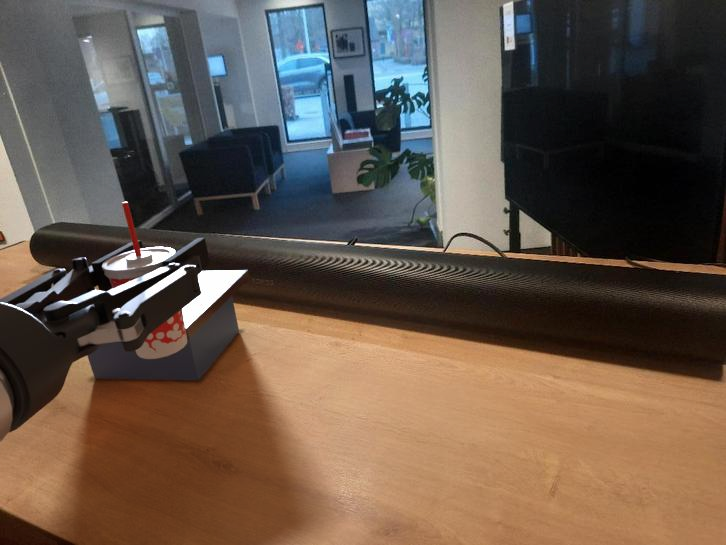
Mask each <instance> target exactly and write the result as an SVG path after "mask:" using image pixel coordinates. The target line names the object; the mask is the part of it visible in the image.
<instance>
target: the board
mask: <svg viewBox="0 0 726 545" xmlns="http://www.w3.org/2000/svg"><path fill="white" fill-rule="evenodd" d="M198 279H199V284H200V289H201V293H202V294H201V295H200V296H198V297H197V298H196V299H194V300H193V301H192V302H191V303H189V304H188V305H187V306H185V307H184V308H183V309H182V311H183V317H184V323H185V329H186V335H187V339H190V338H191V337H192V336H193V335H194V334H195V333H196V332H197V331H198V330H199V329H200V328H201V327H202V326H203V325H204V324H205V323H206V322H207V321H208V320H209V319H210V318H211V317H212V316H213V315H214V314H215V313H216V312H217V311H218V310H219V309H220V308H221V307H222V306H223V305H224V304H225V303H226V302H227V301H228V300H229V299H230V298H231V296H232V297H233V296H234V295H235V294H236V293H237V292H238V291H239V290H240V289H241V288H242V287H243V286H244V285H245V284H246V283H247V282H248V280H250V274H249V270H248V269H233V270H231V269H230V270H202V272H201V273H200V274H198ZM112 289H113V288H112ZM110 290H111V289H110ZM92 306H94V304H93V305H92Z"/></svg>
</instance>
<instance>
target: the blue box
mask: <svg viewBox="0 0 726 545" xmlns="http://www.w3.org/2000/svg"><path fill="white" fill-rule="evenodd" d="M239 328H240V327H239V323H238V319H237V314H236V308H235V303H234V299H233V295H232V296H231V298H230V299H229V300H228V301H227V302H226V303H225V304H224V305H223V306H222V307H221V308H220V309H219V310H218V311H217V312H216V313H215V314H214V315H213V316H212V317H211V318H210V319H209V320H208V321H207V322H206V323H205V324H204V325H203V326H202V327H201V328H200V329H199V330H198V331H197V332H196V333H195V334H194V335H193V336H192V337H191V338H190V339H187V344H186V345H185V346H184V348H182V349H181V350H179V351H178V352H176V353H174V354H171V355H169V356H166V357H161V358H157V359H145V358H140V357H139V356H138V355H137V353H136V350H134V351H130V352H126V351H124V350H123V348H122V344H121V341H120V342H112V343H104V344H100V346H99V348H98V349H97V350H96V351H95V352H93V353H91V354H89V355H87V356H86V357H87V360H88V362H89V365H90V368H91V371H92V374H93V377H94V379H95V380H97V379H99V380H146V381H147V380H148V381H150V380H152V381H200V380H201V379H202V377H203V376H204V375H205V373H206V372H207V371H208V370H209V369H210V368H211V366H212V365H213V364H214V363H215V361H216V360H217V359H218V358H220V356H221V354H222V353H223V352H224V351H225V349H226V348H227V347H228V346H229V345H230V344H231V342H232V341H233V340H234V338H235V337H236V336H237V335H238V334H239V332H240V329H239Z"/></svg>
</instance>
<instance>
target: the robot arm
mask: <svg viewBox="0 0 726 545" xmlns="http://www.w3.org/2000/svg"><path fill="white" fill-rule="evenodd" d="M138 243H139V247H140V249H144V246H143V245H144V244H143V242H142V240H141V239H138ZM133 250H134V247H133V243H132V241H131V242H129V243H127V244H125V245H123V246H122V247H120V248H118V249H116V250H114V251H112V252H110V253H108V254H106V255H103V257H101V258H99V259H97V260H95V261H93V262H91V263H90V264H91V265H90V266H89V264H88V260H87V258H86V257H77V258H73V259H71V260H70V263H71V265H72V269H71V270H70V271H69V272H68V273H67V271H66V269H65V268H55V269H53V270H52V271H49V272H48V273H46V274H44V275H42V276H39V277H38V278H37V279H35V280H33V281H31V282H29V283H27V284H25V285H23V286H22V287H19V288H18V289H16V290H14V291H13V292H10V293H8V294H7V295H5V296H3V297H1V298H0V443H1V442H2V441H3V440H4V439H5V438H6V436H7V435H8V434H9V433H12V432H13V431H16V430H17V429H19V428H20V427H21V426H23V425H24V424H25V423H27V421H29V420H30V419H31V418H33V417H34V416H35V415H36V414H38V413H39V412H40V411H41V410H42V409H44V408H45V407H46V406H47V405H48V404H50V403H51V402H53V400H54V399H55V398H57V396H58V395H59V394H60V393H61V391H62V389H63V387H64V386H65V383H66V380H67V377H68V374H69V371H70V369H71V367H72V365H73V363H75V362H77V361H79V360H80V359H83V358H85V357H88V356H87V355H89V354H91V353H93V352H95V351H96V350H97V349H98V348H99V346H100V344H104V343H112V342H120V341H121V344H122V348H123V350H124V351H126V352H130V351H134V350H137V349H139V348H140V347H141V346H142V345H143V343H144V342H145V340H146V339H147V337H148V335H149V334H150V333H152V332H153V331H154V330H156V329H157V328H158V327H159V326H161V325H162V324H163V323H165V322H166V321H167V320H168V319H170V318H171V317H172V316H174V315H175V314H176V313H178V312H179V311H180V310H181V309H183V308H184V307H185V306H187V305H188V304H189V303H191V302H192V301H193V300H194V299H196V298H197V297H198V296H200V295H201V294H202V293H201V289H200V284H199V279H198V274H200V273H201V272H202V271H205V269H206V268H207V267H209V266H210V265H211V260H210V255H209V252H208V251H209V250H208V245H207V242H206V238H205V237H197V238H196V239H194V240H193V241H191V242H189V243H188V244H186V245H185V246H184V247H182V248H181V249H179V250H177V251H175V253H174V254H173V255H171V256H170V257H168V258H167V259H165V260H164V261H162V264H163V267H161V268H159V269H157V270H155V271H152V272H150V273H148V274H145V275H143V276H141V277H139V278H136V279H134V280H132V281H130V282H127V283H125V284H123V285H120V286H118V287H116V288H114V289H112V285H111V282H110V280H109V278H108V277H107V276H105V275H104V270H103V269H102V264H103V262H105V261H106V260H108V259H110V258H111V257H114V256H117V255H119V254H122V253H125V252H129V251H133ZM52 285H53V286H52ZM96 287H97V288H98V289H96ZM110 289H111V290H110ZM93 304H94V306H92V305H93Z"/></svg>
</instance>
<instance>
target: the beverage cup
mask: <svg viewBox="0 0 726 545" xmlns="http://www.w3.org/2000/svg"><path fill="white" fill-rule="evenodd" d="M121 205H122V210H123V213H124V216H125V220H126V224H127V228H128V231H129V236H130V240H131V242H132V243H133V247H134V250H133V251H129V252H125V253H122V254H119V255H117V256H114V257H111V258H110V259H108V260H106V261H105V262H103V264H102V269H103V270H104V275H105V276H107V277H108V278H109V280H110V282H111V285H112V288H113V289H114V288H116V287H118V286H120V285H123V284H125V283H127V282H130V281H132V280H134V279H136V278H139V277H141V276H143V275H145V274H148V273H150V272H152V271H155V270H157V269H159V268H161V267H163V264H162V261H164V260H165V259H167V258H168V257H170V256H171V255H173V254H174V253H176V250H175V249H174V248H171V247H168V246H166V247H164V246H154V247H153V246H152V247H145V248H144V247H143V249H140V247H139V243H138V240H139V239H138V236H137V232H136V228H135V225H134V221H133V217H132V213H131V212H132V211H131V209H130V206H129V202H128V201H123V202H121ZM186 344H187V335H186V329H185V323H184V317H183V311H182V309H181V310H180V311H179V312H178V313H176V314H175V315H174V316H172V317H171V318H170V319H168V320H167V321H166V322H165V323H163V324H162V325H161V326H159V327H158V328H157V329H156V330H154V331H153V332H152V333H150V334H149V335H148V337H147V339H146V340H145V342H144V343H143V345H142V346H141V347H140V348H139V349H137V350H136V353H137V355H138V356H139V357H140V358H145V359H157V358H161V357H166V356H169V355H171V354H174V353H176V352H178V351H179V350H181V349H182V348H184V346H185V345H186Z"/></svg>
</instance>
